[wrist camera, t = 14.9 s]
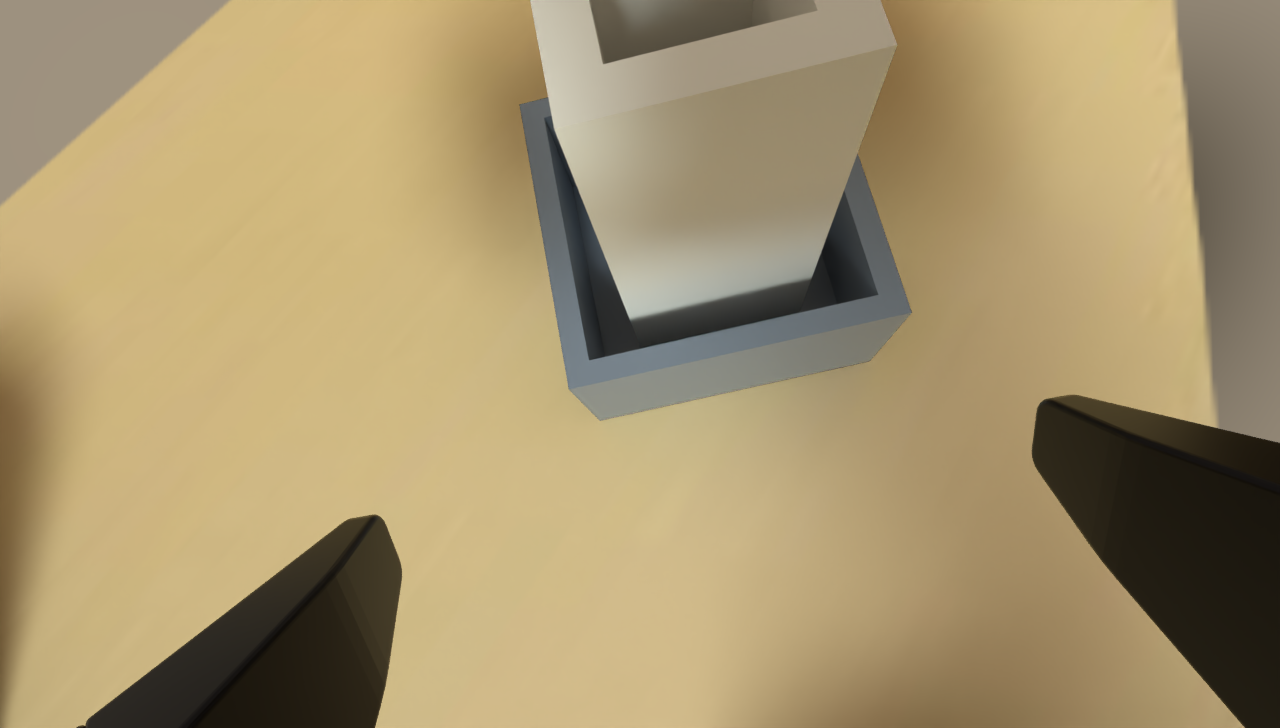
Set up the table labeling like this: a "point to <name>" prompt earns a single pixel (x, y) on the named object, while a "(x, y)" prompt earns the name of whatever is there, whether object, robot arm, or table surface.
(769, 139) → the white square vase
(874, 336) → the low crate
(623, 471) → the table surface
